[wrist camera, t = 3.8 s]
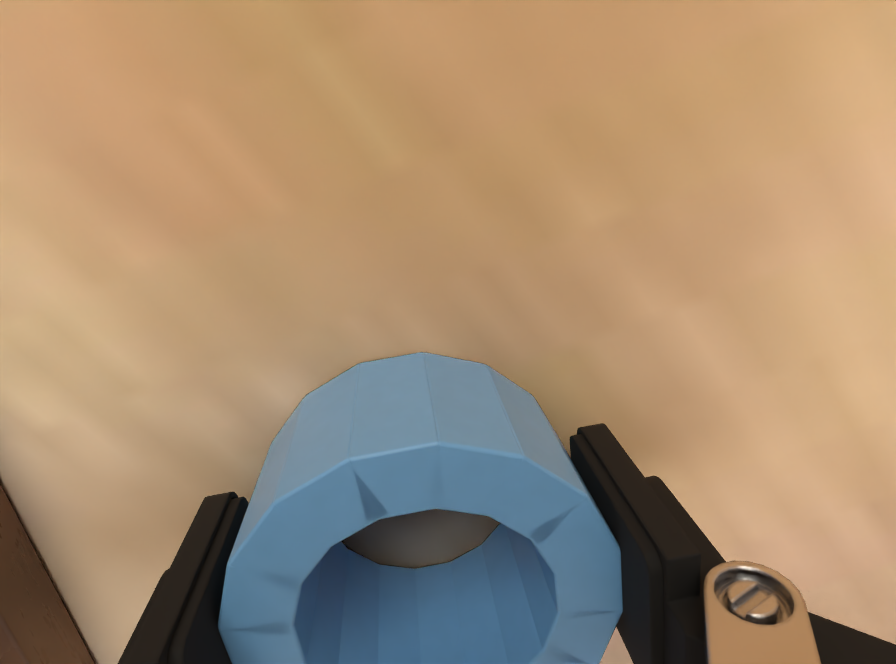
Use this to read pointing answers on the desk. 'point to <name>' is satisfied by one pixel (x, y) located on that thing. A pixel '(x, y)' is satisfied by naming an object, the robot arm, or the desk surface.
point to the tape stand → (31, 603)
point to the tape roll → (409, 491)
